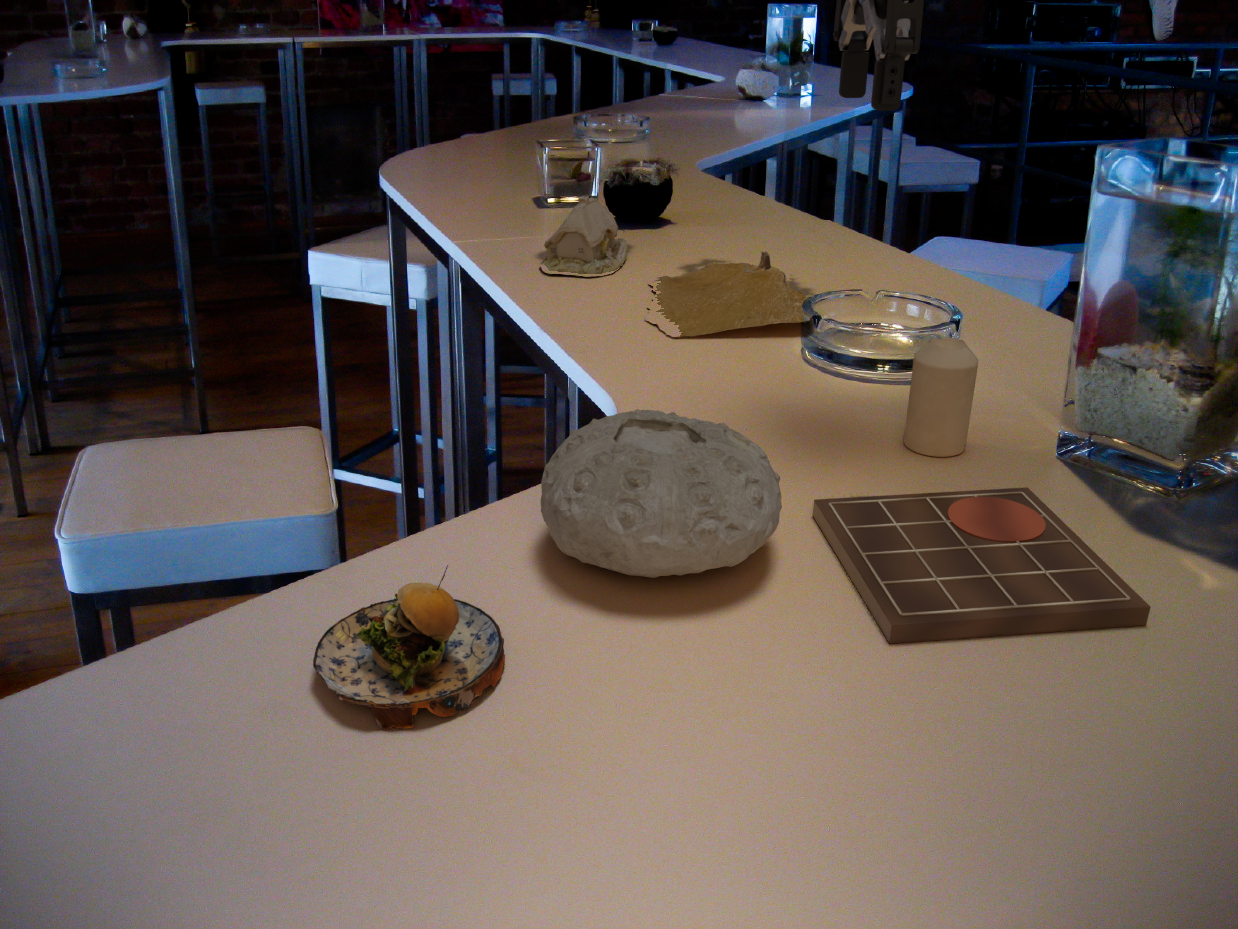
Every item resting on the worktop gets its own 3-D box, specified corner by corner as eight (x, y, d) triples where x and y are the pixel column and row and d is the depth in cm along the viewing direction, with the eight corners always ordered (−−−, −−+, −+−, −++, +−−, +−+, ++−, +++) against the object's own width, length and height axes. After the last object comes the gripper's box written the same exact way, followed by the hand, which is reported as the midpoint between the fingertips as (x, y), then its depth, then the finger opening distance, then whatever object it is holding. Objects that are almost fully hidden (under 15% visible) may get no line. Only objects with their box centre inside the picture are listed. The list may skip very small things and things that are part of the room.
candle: (941, 463, 96) (956, 356, 92) (891, 443, 100) (903, 340, 96) (977, 446, 99) (993, 343, 95) (927, 428, 103) (940, 327, 99)
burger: (365, 607, 75) (354, 512, 72) (528, 628, 73) (524, 530, 70) (279, 715, 65) (262, 609, 61) (467, 743, 62) (459, 634, 59)
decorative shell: (705, 480, 93) (709, 370, 89) (826, 579, 79) (838, 453, 74) (509, 523, 86) (503, 406, 82) (601, 640, 72) (600, 505, 67)
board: (1024, 503, 89) (1028, 485, 89) (1146, 625, 73) (1151, 605, 73) (812, 515, 87) (813, 497, 87) (889, 644, 71) (892, 623, 71)
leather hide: (676, 274, 156) (673, 241, 153) (859, 282, 144) (859, 246, 142) (586, 358, 134) (581, 321, 131) (794, 375, 122) (791, 334, 120)
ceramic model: (600, 282, 148) (600, 209, 144) (528, 273, 152) (525, 201, 148) (639, 258, 160) (640, 189, 156) (571, 250, 164) (570, 183, 160)
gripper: (972, -120, 78) (943, 114, 85) (902, -111, 91) (882, 92, 98) (871, -121, 77) (850, 116, 84) (815, -111, 90) (801, 94, 97)
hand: (867, 103), depth 91 cm, fingers open, 8 cm apart
